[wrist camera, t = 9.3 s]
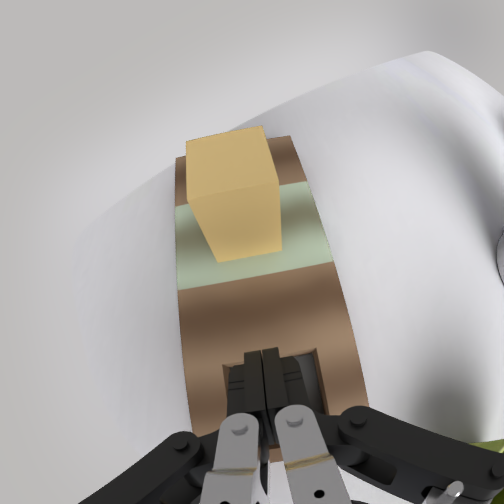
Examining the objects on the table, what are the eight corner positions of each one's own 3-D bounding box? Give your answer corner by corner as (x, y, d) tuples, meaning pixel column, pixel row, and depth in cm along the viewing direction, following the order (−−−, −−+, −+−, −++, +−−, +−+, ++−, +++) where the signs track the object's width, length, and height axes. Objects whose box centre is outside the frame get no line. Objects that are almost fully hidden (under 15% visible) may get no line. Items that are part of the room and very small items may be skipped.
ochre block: (282, 250, 22) (278, 181, 15) (217, 262, 22) (186, 199, 15) (269, 199, 24) (261, 125, 17) (212, 210, 25) (185, 141, 18)
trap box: (363, 432, 18) (374, 438, 15) (209, 459, 18) (199, 468, 15) (290, 155, 31) (289, 135, 28) (183, 176, 31) (175, 158, 28)
